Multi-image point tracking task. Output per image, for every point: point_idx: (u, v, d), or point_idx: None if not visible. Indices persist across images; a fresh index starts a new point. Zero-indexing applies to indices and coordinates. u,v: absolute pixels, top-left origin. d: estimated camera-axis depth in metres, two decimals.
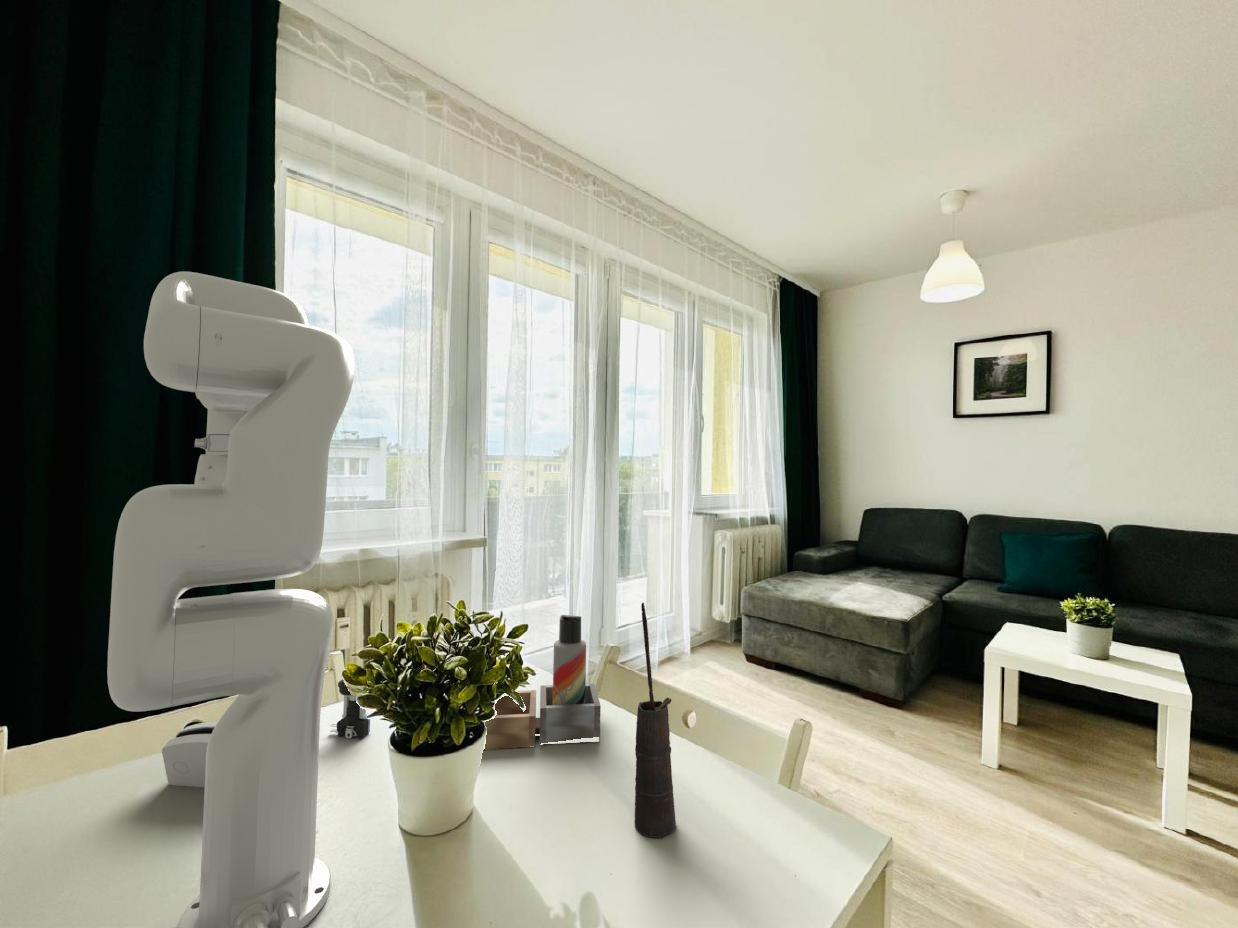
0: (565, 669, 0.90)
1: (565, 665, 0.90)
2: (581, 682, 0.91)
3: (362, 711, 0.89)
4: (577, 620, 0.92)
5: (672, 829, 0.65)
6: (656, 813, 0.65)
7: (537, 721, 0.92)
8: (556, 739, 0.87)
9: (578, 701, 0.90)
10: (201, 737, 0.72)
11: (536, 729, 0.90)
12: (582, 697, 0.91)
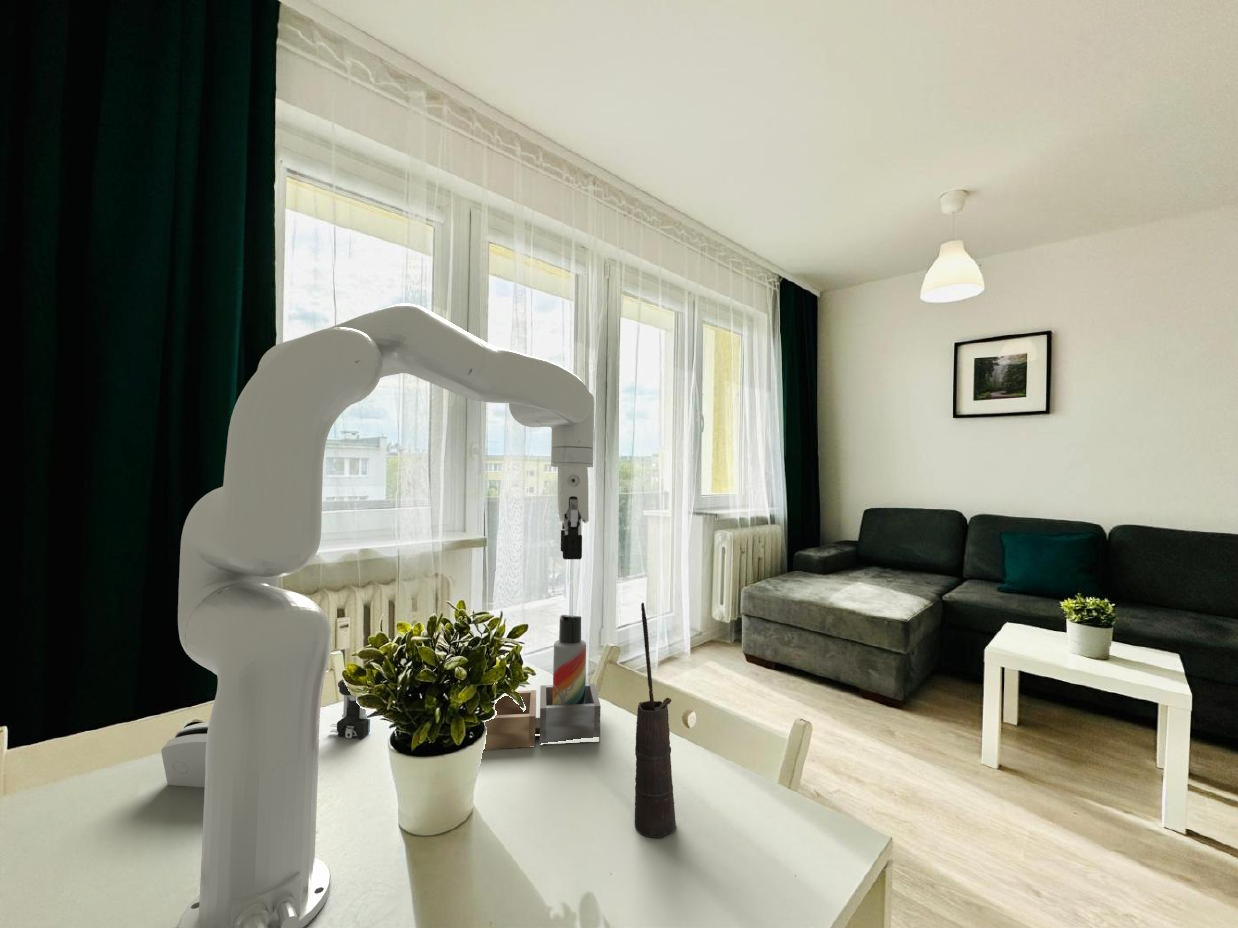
0: (565, 669, 0.90)
1: (565, 665, 0.90)
2: (581, 682, 0.91)
3: (362, 711, 0.89)
4: (577, 620, 0.92)
5: (672, 829, 0.65)
6: (656, 813, 0.65)
7: (537, 721, 0.92)
8: (556, 739, 0.87)
9: (578, 701, 0.90)
10: (201, 737, 0.72)
11: (536, 729, 0.90)
12: (582, 697, 0.91)
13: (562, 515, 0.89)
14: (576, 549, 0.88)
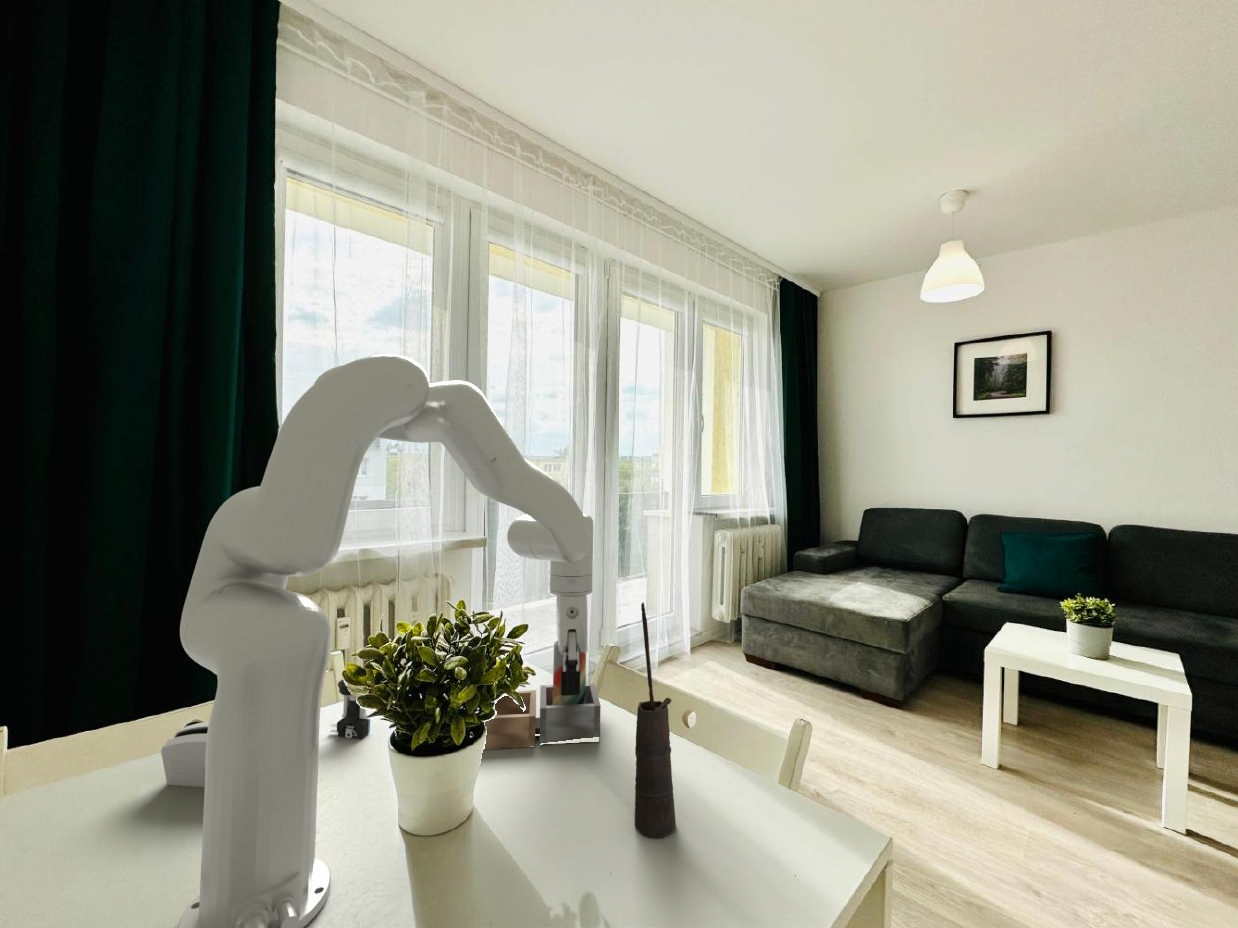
0: None
1: None
2: (581, 682, 0.91)
3: (362, 711, 0.89)
4: None
5: (672, 829, 0.65)
6: (656, 813, 0.65)
7: (537, 721, 0.92)
8: (556, 739, 0.87)
9: (578, 701, 0.90)
10: (201, 737, 0.72)
11: (536, 729, 0.90)
12: (582, 697, 0.91)
13: (561, 648, 0.88)
14: (574, 686, 0.89)
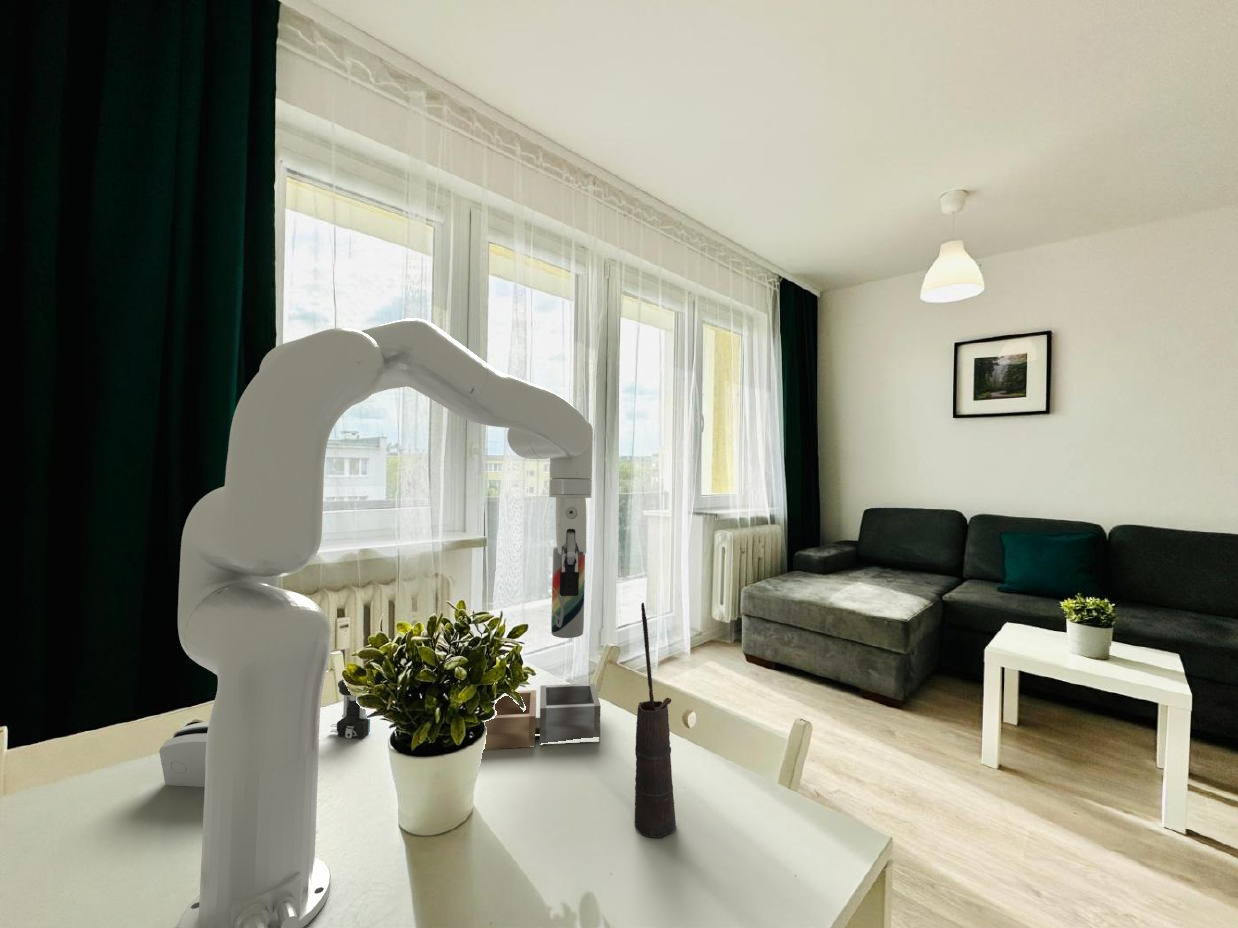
0: None
1: None
2: (580, 585, 0.92)
3: (362, 711, 0.89)
4: None
5: (672, 829, 0.65)
6: (656, 813, 0.65)
7: (537, 721, 0.92)
8: (556, 739, 0.87)
9: (576, 603, 0.91)
10: (200, 737, 0.72)
11: (536, 729, 0.90)
12: (581, 600, 0.92)
13: (560, 547, 0.89)
14: (573, 586, 0.89)
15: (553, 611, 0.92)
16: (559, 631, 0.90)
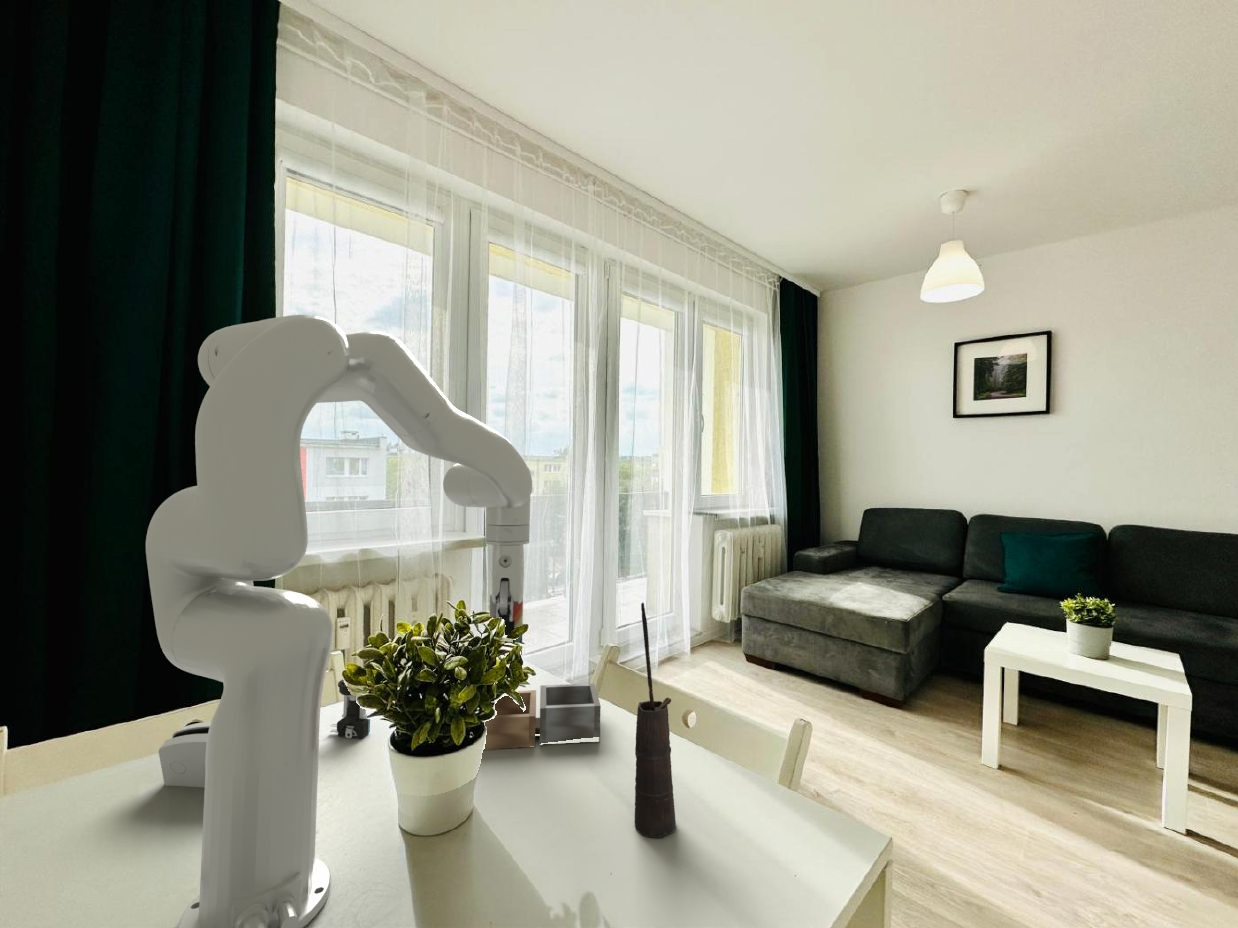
0: None
1: None
2: None
3: (362, 711, 0.89)
4: None
5: (672, 829, 0.65)
6: (656, 813, 0.65)
7: (537, 721, 0.92)
8: (556, 739, 0.87)
9: None
10: (199, 737, 0.72)
11: (536, 729, 0.90)
12: None
13: (493, 597, 0.87)
14: None
15: None
16: None
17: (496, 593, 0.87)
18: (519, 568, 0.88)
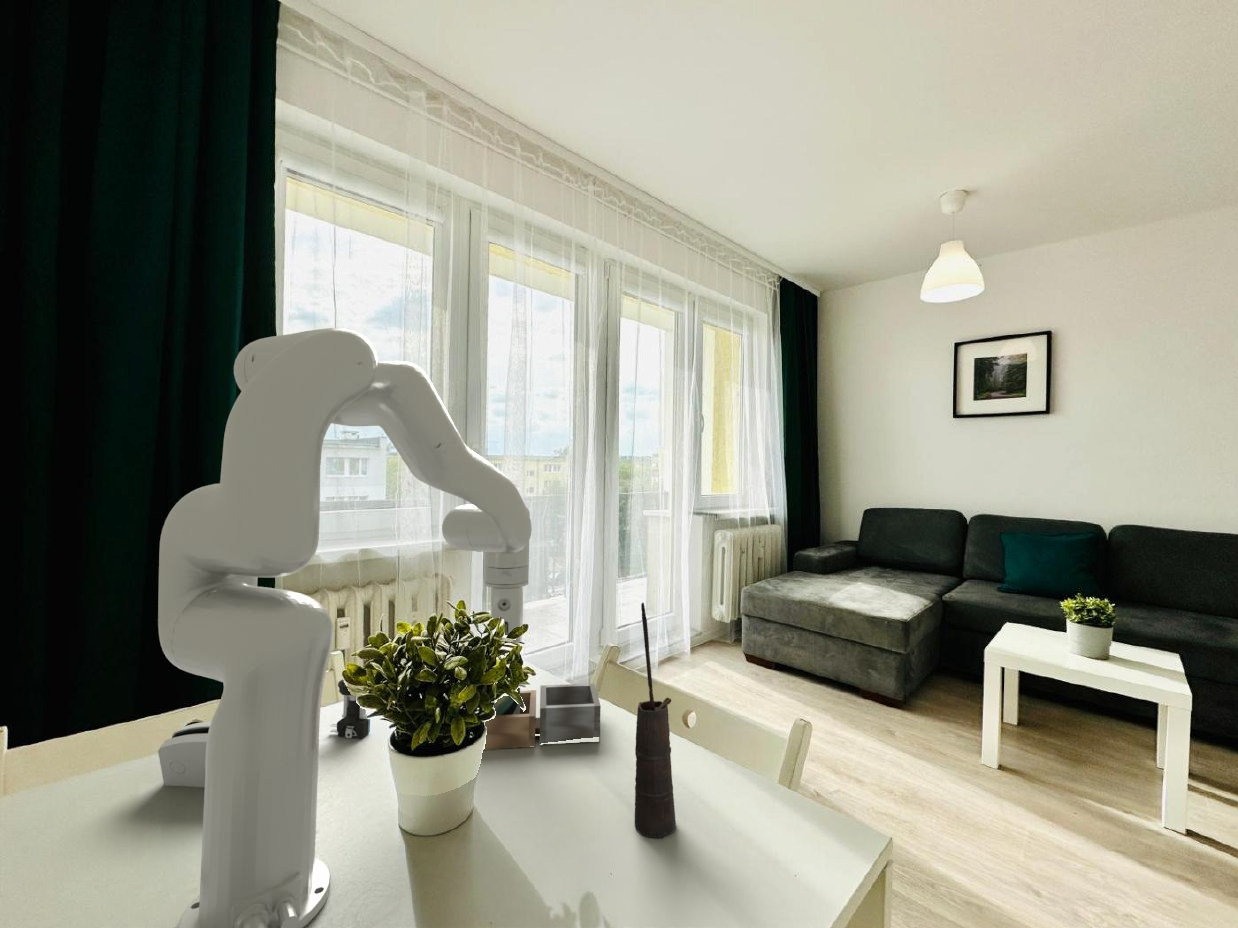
0: None
1: None
2: None
3: (362, 711, 0.89)
4: None
5: (672, 829, 0.65)
6: (656, 813, 0.65)
7: (537, 721, 0.92)
8: (556, 739, 0.87)
9: (510, 705, 0.89)
10: (199, 737, 0.72)
11: (536, 729, 0.90)
12: None
13: None
14: None
15: None
16: None
17: None
18: (518, 611, 0.87)
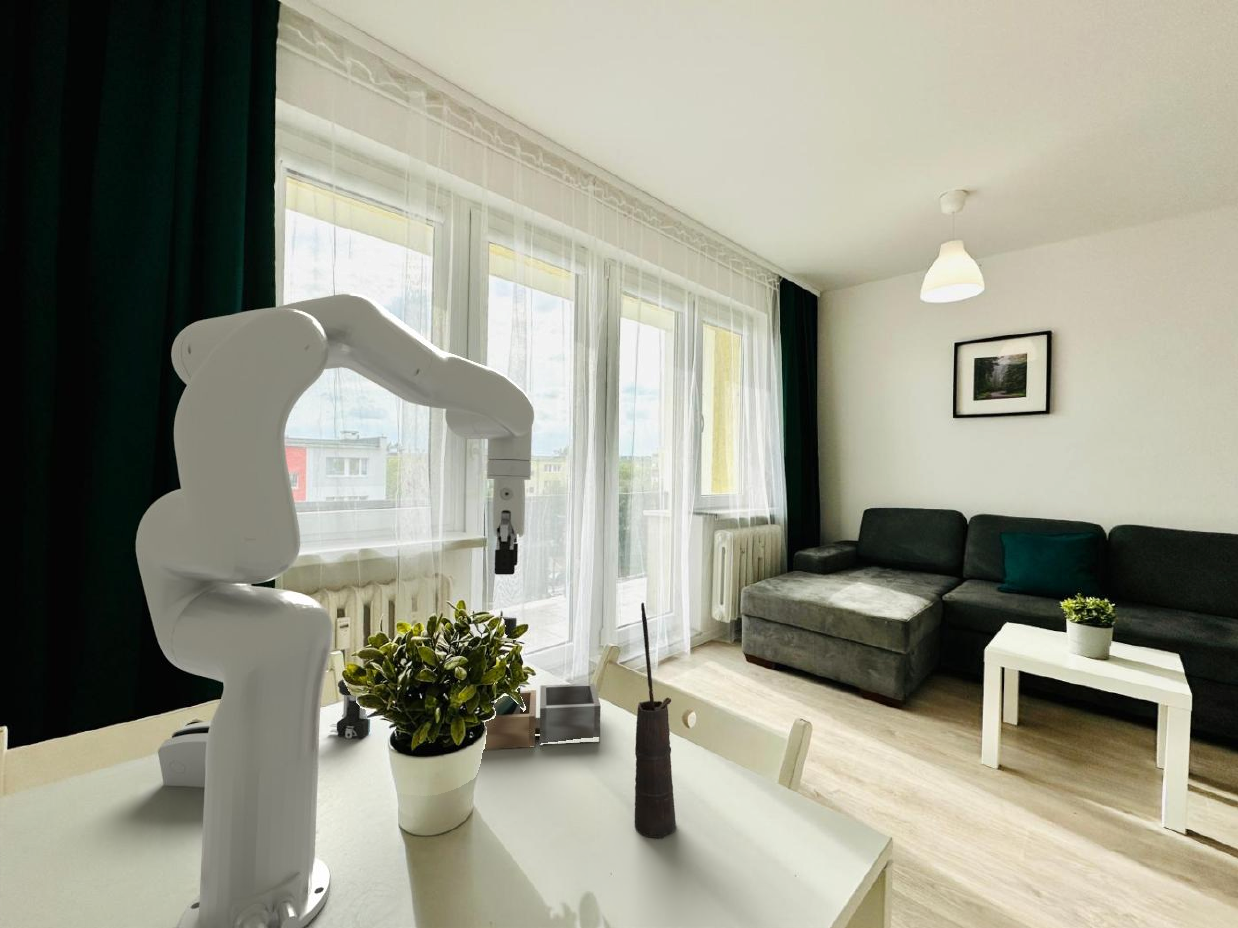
0: None
1: None
2: None
3: (362, 711, 0.89)
4: (511, 621, 0.90)
5: (672, 829, 0.65)
6: (656, 813, 0.65)
7: (537, 721, 0.92)
8: (556, 739, 0.87)
9: (510, 705, 0.89)
10: (198, 736, 0.72)
11: (536, 729, 0.90)
12: None
13: (494, 529, 0.87)
14: (508, 564, 0.86)
15: None
16: None
17: (497, 525, 0.87)
18: (520, 501, 0.88)
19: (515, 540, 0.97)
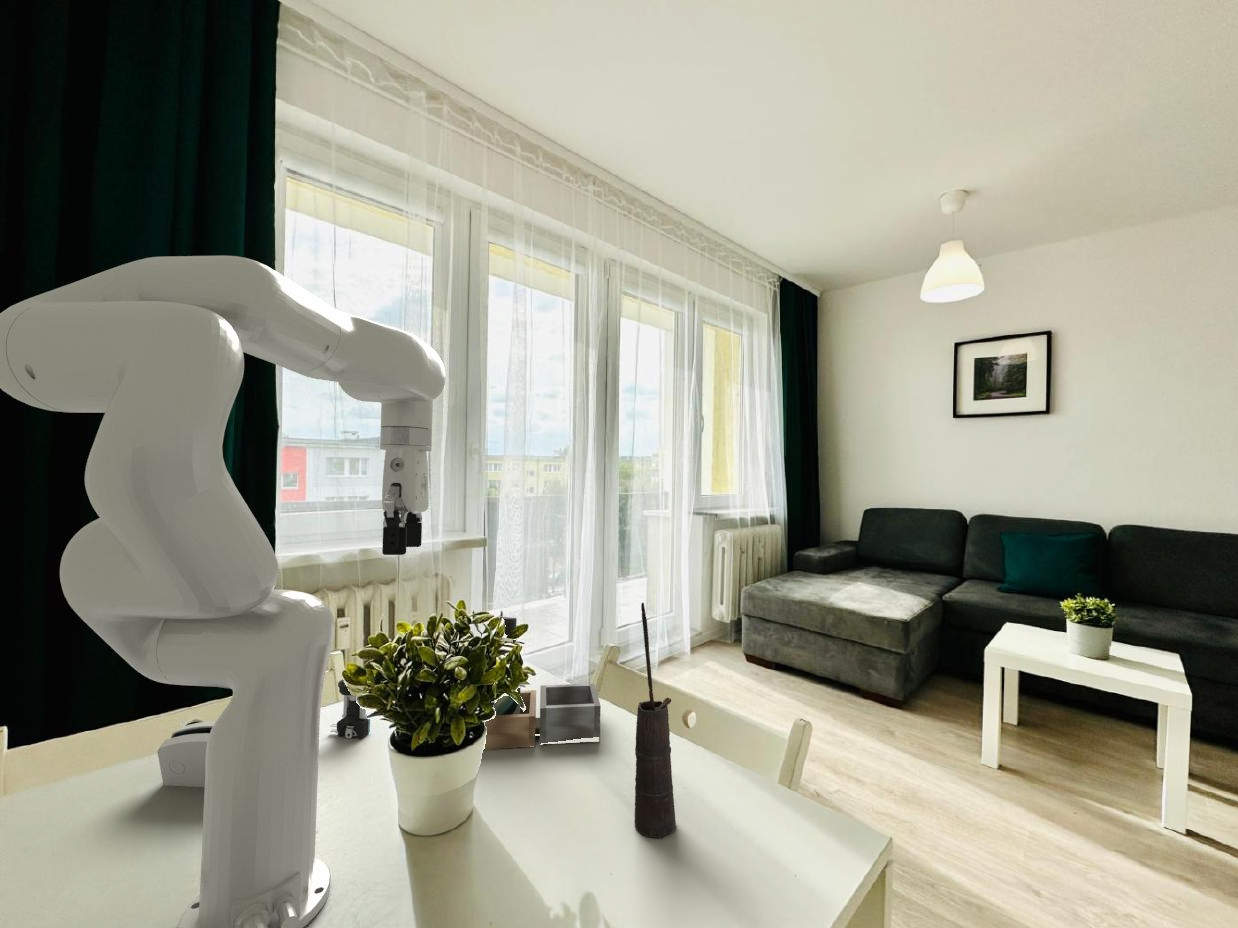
0: None
1: None
2: None
3: (362, 711, 0.89)
4: (511, 621, 0.90)
5: (672, 829, 0.65)
6: (656, 813, 0.65)
7: (537, 721, 0.92)
8: (556, 739, 0.87)
9: (510, 705, 0.89)
10: (198, 737, 0.72)
11: (536, 729, 0.90)
12: None
13: (383, 504, 0.78)
14: (397, 543, 0.77)
15: None
16: None
17: None
18: (413, 473, 0.79)
19: (418, 519, 0.87)
